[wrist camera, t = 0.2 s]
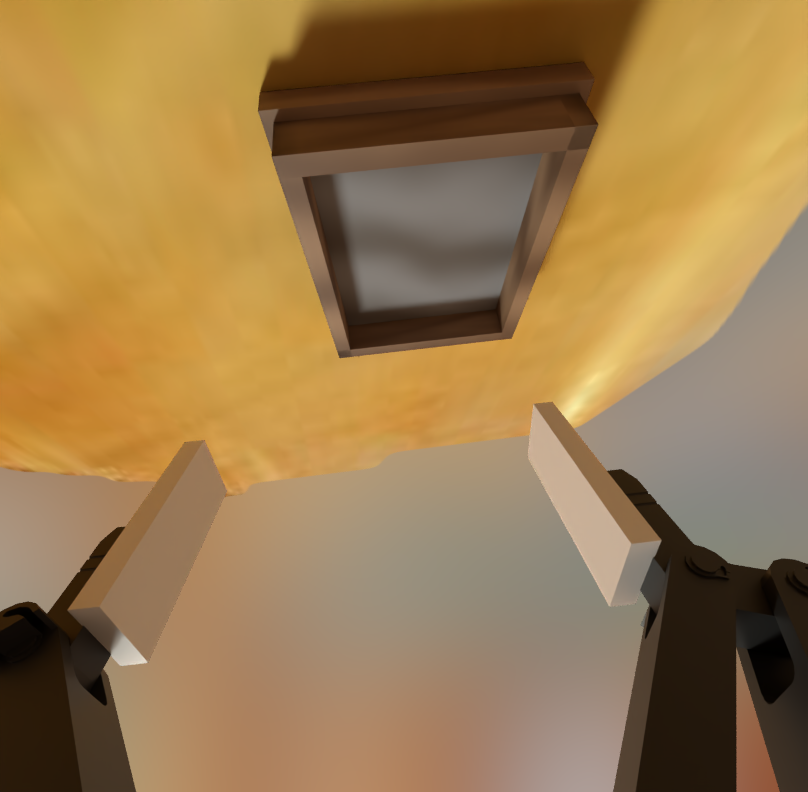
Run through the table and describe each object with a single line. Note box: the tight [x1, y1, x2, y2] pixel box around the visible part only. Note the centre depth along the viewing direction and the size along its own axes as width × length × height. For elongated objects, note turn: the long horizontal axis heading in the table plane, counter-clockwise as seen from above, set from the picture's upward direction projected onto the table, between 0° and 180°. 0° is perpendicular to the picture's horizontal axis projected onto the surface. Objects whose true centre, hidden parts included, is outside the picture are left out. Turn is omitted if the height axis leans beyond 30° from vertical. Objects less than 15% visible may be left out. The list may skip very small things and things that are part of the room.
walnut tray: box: [258, 62, 598, 358], centre depth 24 cm, size 17×15×4 cm
